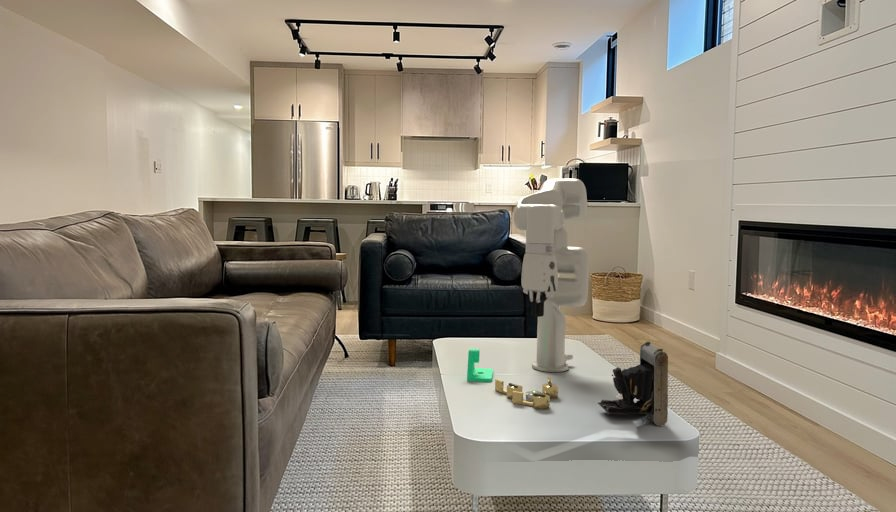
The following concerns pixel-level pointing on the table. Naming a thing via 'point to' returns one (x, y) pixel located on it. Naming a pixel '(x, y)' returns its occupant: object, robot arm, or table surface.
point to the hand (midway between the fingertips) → (537, 316)
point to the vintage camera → (642, 387)
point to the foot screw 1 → (510, 388)
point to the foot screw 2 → (538, 400)
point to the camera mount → (477, 373)
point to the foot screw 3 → (550, 389)
